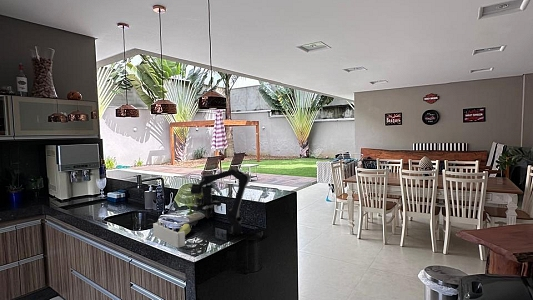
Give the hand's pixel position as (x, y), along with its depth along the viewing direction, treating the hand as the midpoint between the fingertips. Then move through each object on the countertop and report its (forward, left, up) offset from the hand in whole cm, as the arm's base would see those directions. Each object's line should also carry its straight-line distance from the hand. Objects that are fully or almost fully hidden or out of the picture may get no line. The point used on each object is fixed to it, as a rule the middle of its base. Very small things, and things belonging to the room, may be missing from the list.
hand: (207, 218), depth 191 cm
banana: (+10, +14, -10) cm, 20 cm away
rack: (+4, +25, -9) cm, 27 cm away
